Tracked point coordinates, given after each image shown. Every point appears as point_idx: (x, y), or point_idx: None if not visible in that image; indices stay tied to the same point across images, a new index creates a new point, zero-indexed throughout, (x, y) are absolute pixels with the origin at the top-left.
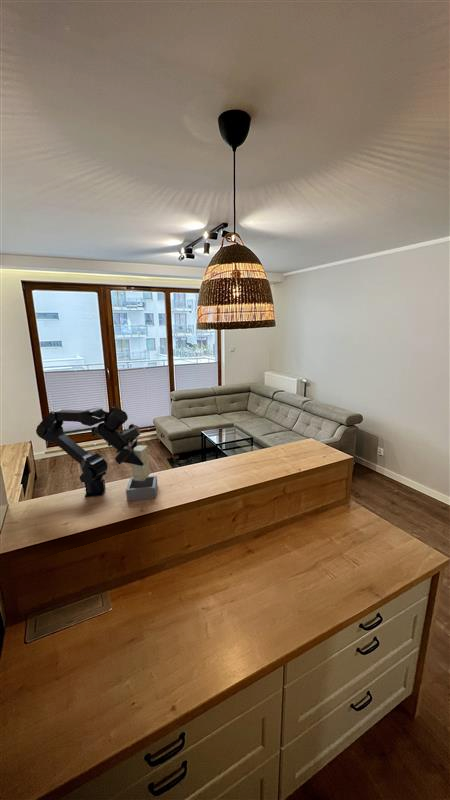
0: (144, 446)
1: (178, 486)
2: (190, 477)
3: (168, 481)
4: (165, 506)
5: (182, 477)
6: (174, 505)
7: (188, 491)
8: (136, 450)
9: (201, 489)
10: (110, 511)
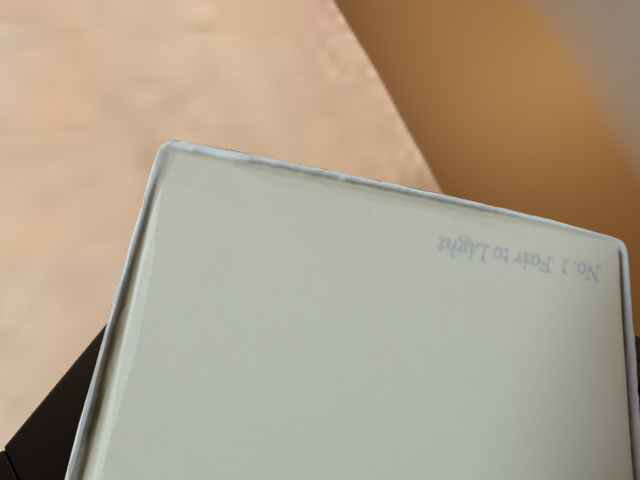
0: (236, 230)
1: (184, 111)
2: (42, 35)
3: (92, 184)
4: (412, 163)
5: (32, 89)
6: (401, 120)
7: (256, 53)
8: (597, 401)
9: None
10: None
